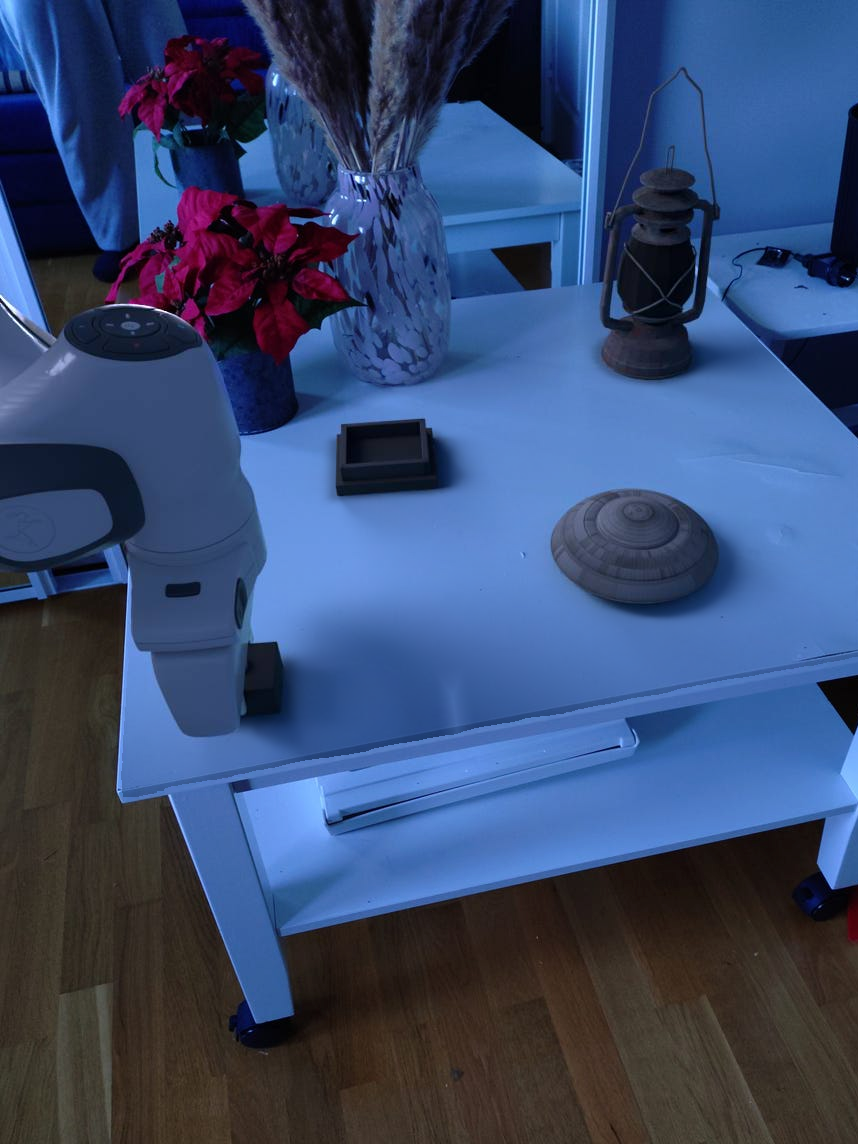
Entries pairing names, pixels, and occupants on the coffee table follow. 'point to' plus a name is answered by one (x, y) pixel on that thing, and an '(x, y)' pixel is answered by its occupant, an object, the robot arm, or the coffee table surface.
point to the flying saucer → (635, 546)
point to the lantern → (657, 269)
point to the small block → (263, 678)
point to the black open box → (385, 457)
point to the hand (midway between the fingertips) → (239, 678)
